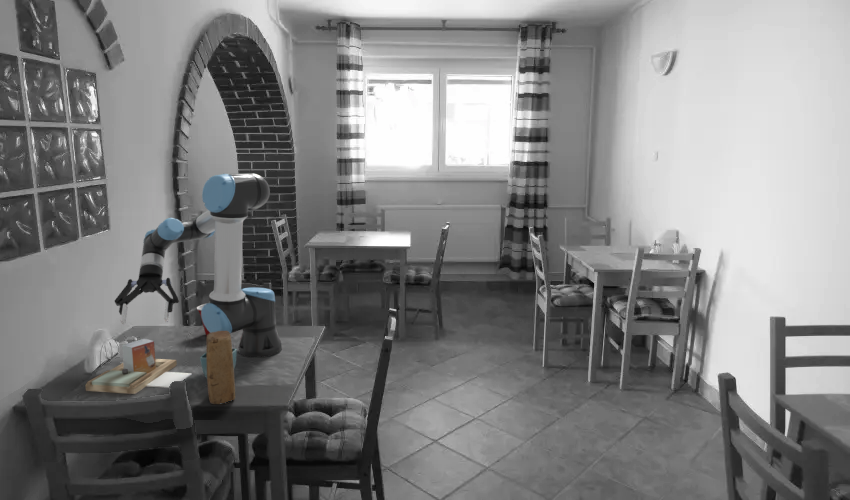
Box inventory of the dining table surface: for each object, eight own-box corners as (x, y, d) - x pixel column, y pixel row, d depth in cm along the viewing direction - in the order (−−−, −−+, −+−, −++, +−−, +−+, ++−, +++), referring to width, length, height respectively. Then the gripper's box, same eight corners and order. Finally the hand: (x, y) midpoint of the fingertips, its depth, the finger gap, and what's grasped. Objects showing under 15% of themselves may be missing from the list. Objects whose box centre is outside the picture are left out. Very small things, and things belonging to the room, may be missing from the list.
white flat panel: (191, 374, 189) (191, 373, 189) (173, 388, 178) (173, 387, 178) (166, 372, 190) (165, 371, 190) (146, 386, 179) (145, 385, 179)
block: (236, 404, 168) (232, 337, 164) (208, 407, 165) (204, 340, 162) (234, 389, 178) (231, 326, 174) (208, 392, 175) (204, 329, 172)
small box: (133, 379, 185) (131, 347, 183) (123, 375, 188) (120, 344, 186) (157, 371, 192) (154, 340, 190) (146, 367, 194) (144, 337, 193)
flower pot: (212, 374, 190) (210, 347, 188) (238, 374, 189) (237, 348, 188) (201, 384, 181) (199, 357, 179) (229, 385, 181) (227, 358, 179)
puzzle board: (176, 365, 197) (175, 353, 196) (135, 393, 174) (133, 380, 173) (132, 363, 198) (131, 351, 198) (86, 390, 176) (84, 377, 175)
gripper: (190, 273, 215) (185, 324, 203) (116, 275, 209) (107, 328, 198) (186, 261, 209) (181, 314, 197) (110, 264, 203) (101, 318, 191)
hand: (144, 321), depth 197 cm, fingers open, 13 cm apart
